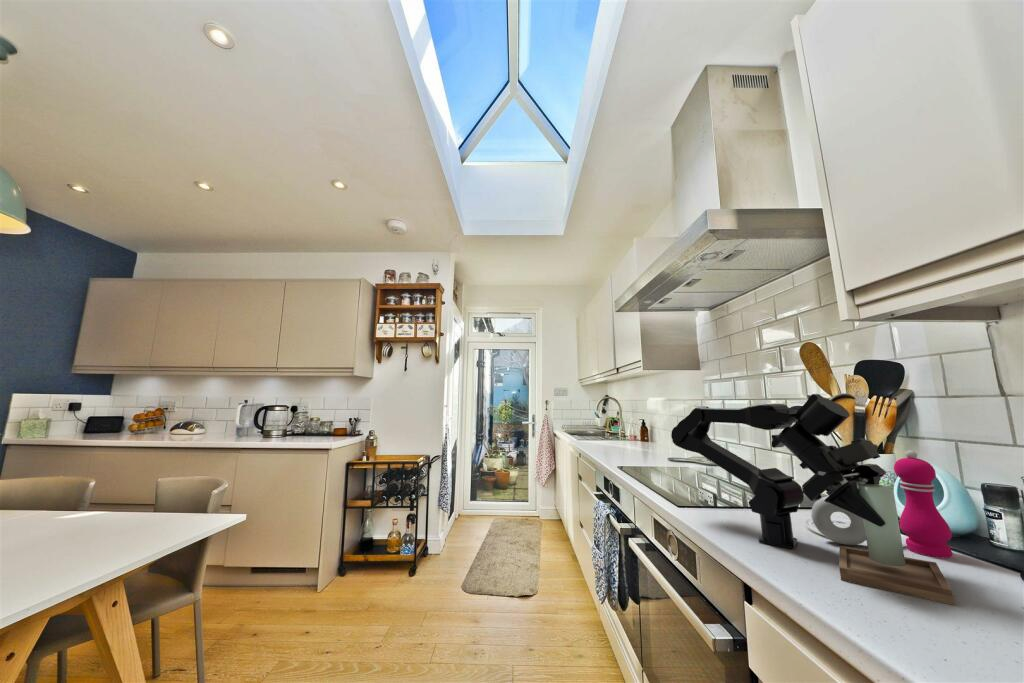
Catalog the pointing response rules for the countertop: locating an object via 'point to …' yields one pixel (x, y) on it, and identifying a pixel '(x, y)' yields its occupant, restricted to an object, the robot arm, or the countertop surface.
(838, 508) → the donut
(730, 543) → the countertop surface
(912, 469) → the pepper mill
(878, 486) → the sage cylinder
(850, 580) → the walnut tray
